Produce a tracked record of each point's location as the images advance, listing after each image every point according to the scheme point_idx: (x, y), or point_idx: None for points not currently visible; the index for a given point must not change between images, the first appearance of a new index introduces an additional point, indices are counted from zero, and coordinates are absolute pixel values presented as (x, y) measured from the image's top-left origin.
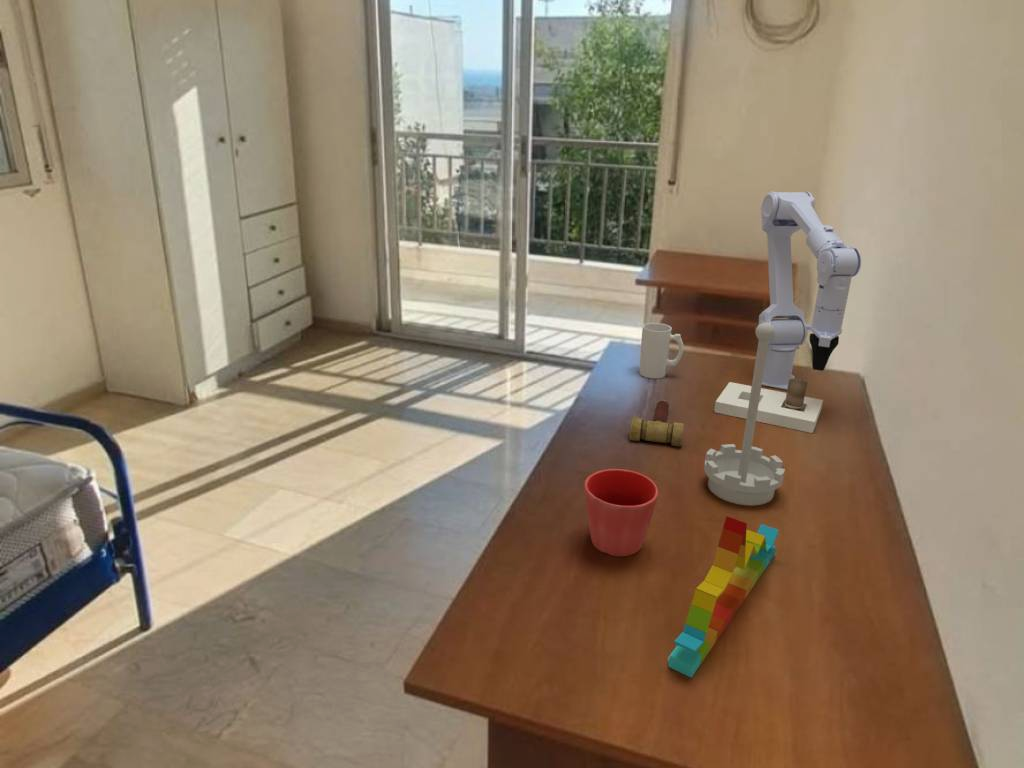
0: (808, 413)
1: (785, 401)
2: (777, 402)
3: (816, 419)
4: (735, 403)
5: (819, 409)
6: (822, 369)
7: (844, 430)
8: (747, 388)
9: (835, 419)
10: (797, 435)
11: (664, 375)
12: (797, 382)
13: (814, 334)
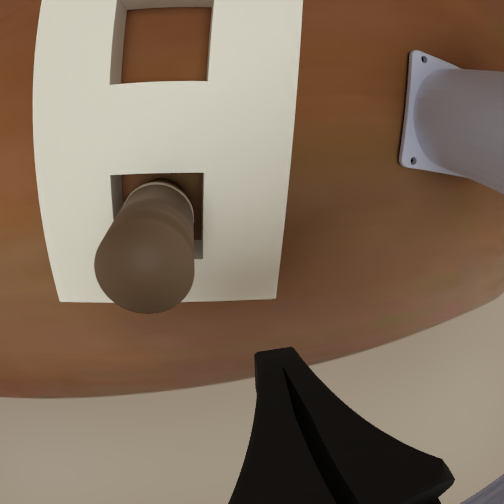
0: None
1: (141, 188)
2: (153, 151)
3: None
4: (59, 11)
5: None
6: (256, 391)
7: (150, 344)
8: (262, 9)
9: (216, 319)
10: (31, 245)
11: None
12: (125, 271)
13: (425, 499)
